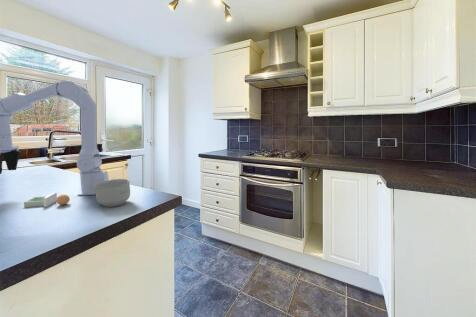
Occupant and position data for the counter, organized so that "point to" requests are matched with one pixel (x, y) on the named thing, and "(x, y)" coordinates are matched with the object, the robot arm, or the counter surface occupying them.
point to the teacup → (112, 192)
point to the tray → (34, 202)
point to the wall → (49, 199)
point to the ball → (62, 199)
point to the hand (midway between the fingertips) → (5, 171)
